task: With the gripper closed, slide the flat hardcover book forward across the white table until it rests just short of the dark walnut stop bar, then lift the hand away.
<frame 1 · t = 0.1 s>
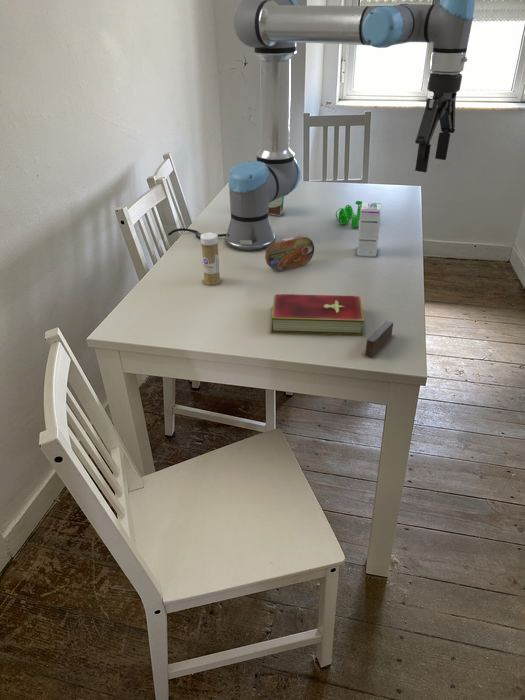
hand: (430, 165, 136), 28 cm above the table, tool pointing down, fingers open, 13 cm apart
sprinkles bottle: (212, 282, 145), on the table
stop bar: (378, 346, 118), on the table
hardcover book: (316, 321, 127), on the table
syrup box: (366, 253, 159), on the table
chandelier: (357, 222, 180), on the table
tin: (289, 266, 152), on the table
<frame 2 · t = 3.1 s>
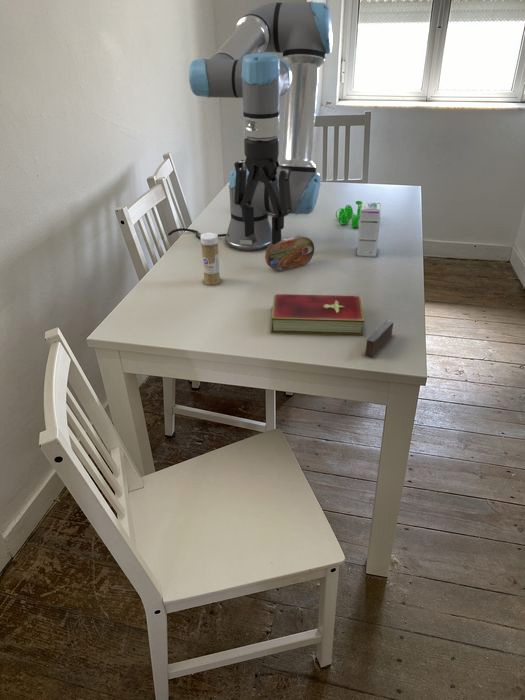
hand: (262, 238, 125), 17 cm above the table, tool pointing down, fingers open, 7 cm apart
nothing on the table moved.
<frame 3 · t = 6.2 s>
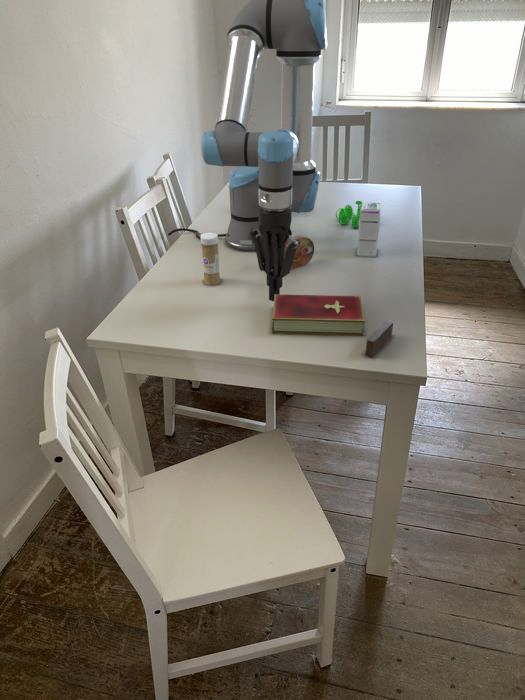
hand: (274, 298, 132), 2 cm above the table, tool pointing down, fingers closed
hardcover book: (316, 321, 127), on the table, touching gripper
everything else where it was.
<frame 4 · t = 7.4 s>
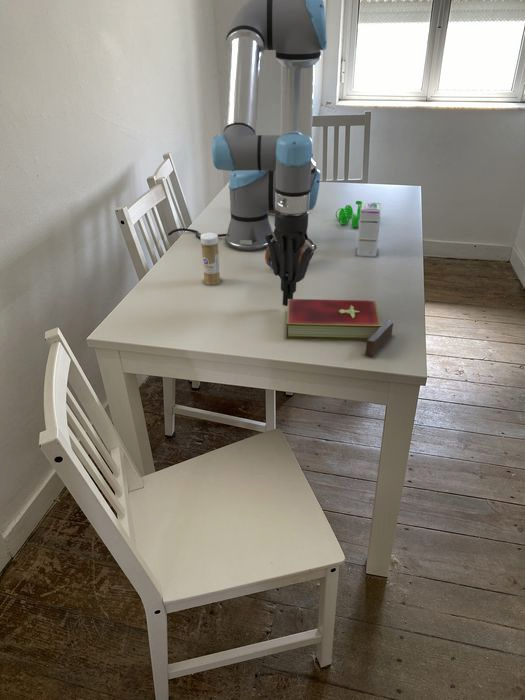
hand: (287, 303, 130), 2 cm above the table, tool pointing down, fingers closed
hardcover book: (331, 326, 125), on the table, touching gripper, stop bar
everything else where it was.
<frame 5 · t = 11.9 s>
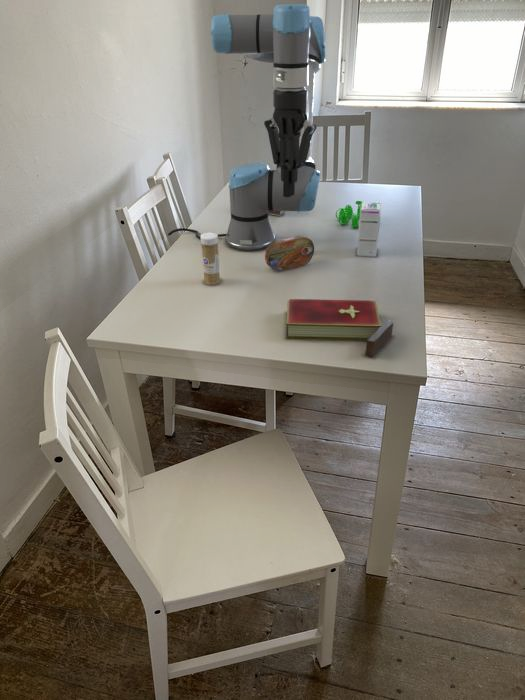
hand: (288, 195, 129), 24 cm above the table, tool pointing down, fingers closed
hardcover book: (331, 326, 125), on the table, touching stop bar
everything else where it was.
at the end: hardcover book inside the target area (1.5 cm from its centre), on the table; hardcover book moved 4.1 cm from its start; hardcover book tilted 0° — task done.
